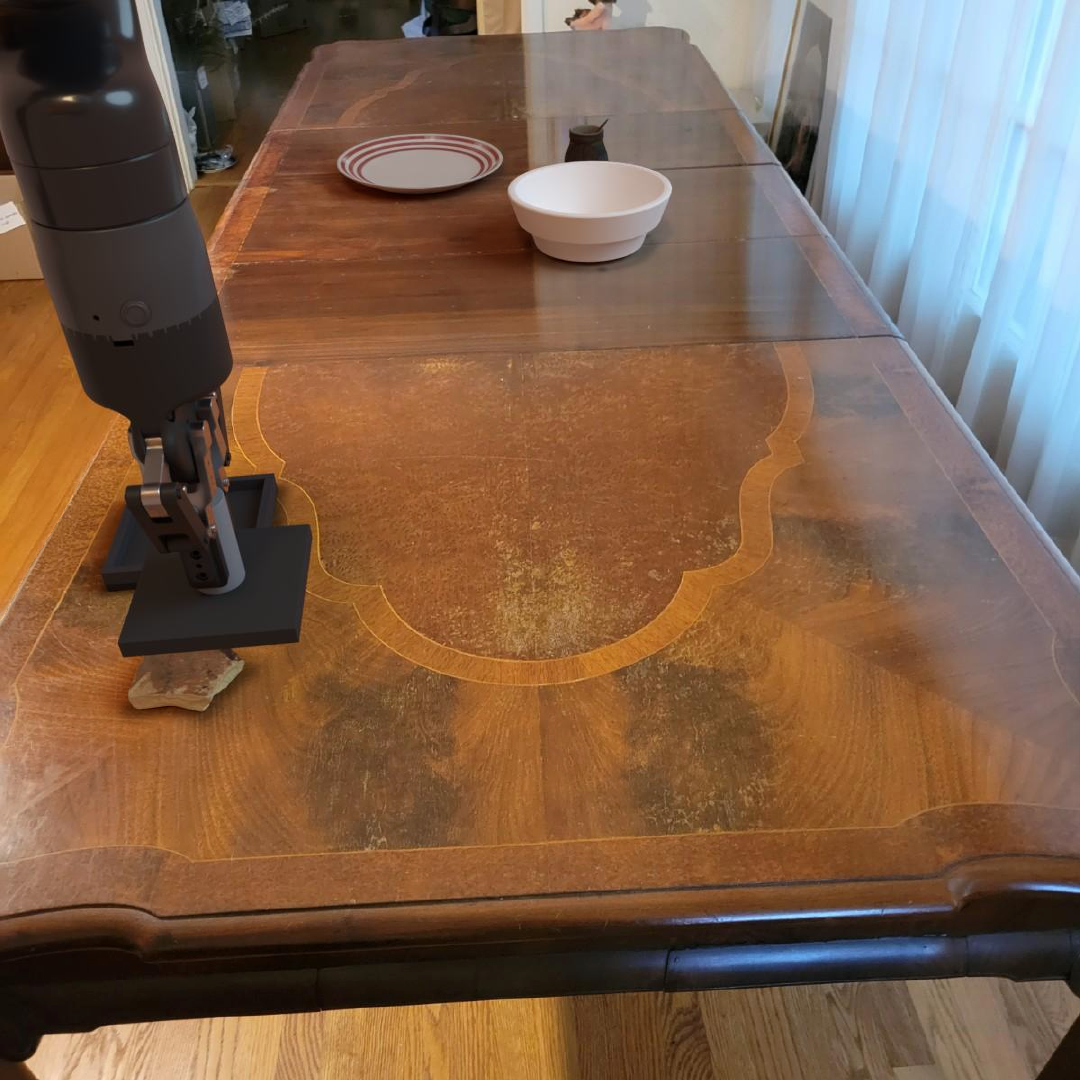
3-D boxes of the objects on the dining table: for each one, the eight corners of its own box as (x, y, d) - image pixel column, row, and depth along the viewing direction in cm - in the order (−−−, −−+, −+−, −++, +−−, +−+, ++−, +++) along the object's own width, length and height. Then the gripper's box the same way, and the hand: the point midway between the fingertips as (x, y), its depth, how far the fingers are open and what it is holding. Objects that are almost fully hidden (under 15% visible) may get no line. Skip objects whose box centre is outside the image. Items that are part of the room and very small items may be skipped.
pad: (122, 658, 56) (83, 561, 52) (158, 549, 64) (127, 457, 59) (299, 643, 57) (276, 545, 52) (313, 537, 65) (293, 445, 60)
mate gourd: (573, 170, 165) (572, 107, 159) (615, 175, 163) (617, 111, 156) (557, 184, 160) (556, 120, 154) (601, 189, 157) (602, 123, 151)
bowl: (696, 262, 133) (701, 200, 128) (540, 289, 128) (538, 226, 123) (630, 208, 150) (632, 152, 145) (490, 230, 145) (486, 172, 139)
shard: (180, 610, 80) (174, 593, 79) (271, 612, 80) (267, 596, 79) (127, 709, 72) (120, 693, 71) (228, 713, 71) (223, 696, 70)
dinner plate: (527, 159, 170) (527, 139, 168) (461, 213, 151) (460, 191, 149) (388, 145, 179) (386, 126, 177) (308, 195, 159) (304, 174, 157)
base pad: (107, 591, 82) (100, 573, 81) (139, 501, 93) (133, 484, 91) (263, 577, 83) (259, 559, 82) (278, 489, 94) (274, 472, 92)
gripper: (95, 245, 53) (174, 502, 64) (12, 368, 42) (125, 653, 53) (234, 237, 54) (290, 493, 65) (189, 356, 43) (265, 641, 54)
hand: (215, 564), depth 59 cm, fingers closed on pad, 3 cm apart
